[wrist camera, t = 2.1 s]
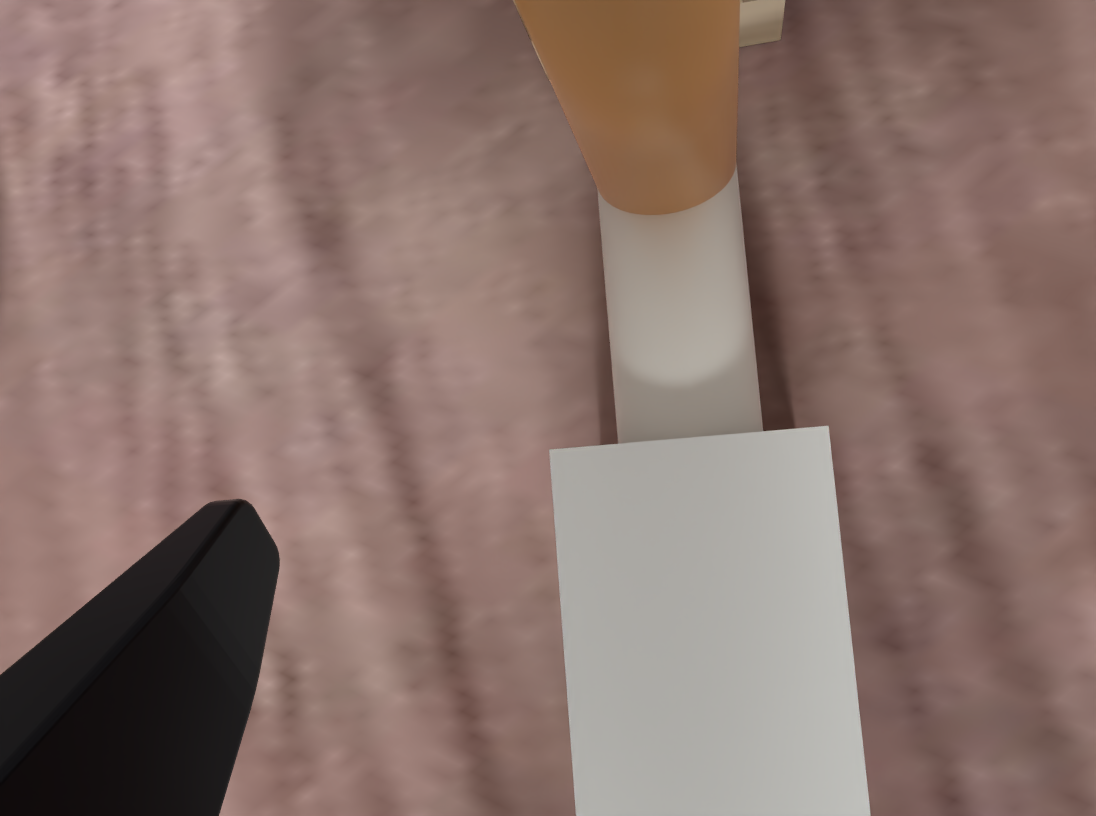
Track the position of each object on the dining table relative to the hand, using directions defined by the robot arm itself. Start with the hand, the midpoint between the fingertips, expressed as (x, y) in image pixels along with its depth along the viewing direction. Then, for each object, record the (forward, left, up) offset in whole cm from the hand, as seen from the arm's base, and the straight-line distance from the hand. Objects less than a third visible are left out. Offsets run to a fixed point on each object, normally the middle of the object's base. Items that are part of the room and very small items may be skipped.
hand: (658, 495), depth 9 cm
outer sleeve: (-2, +3, -13) cm, 14 cm away
